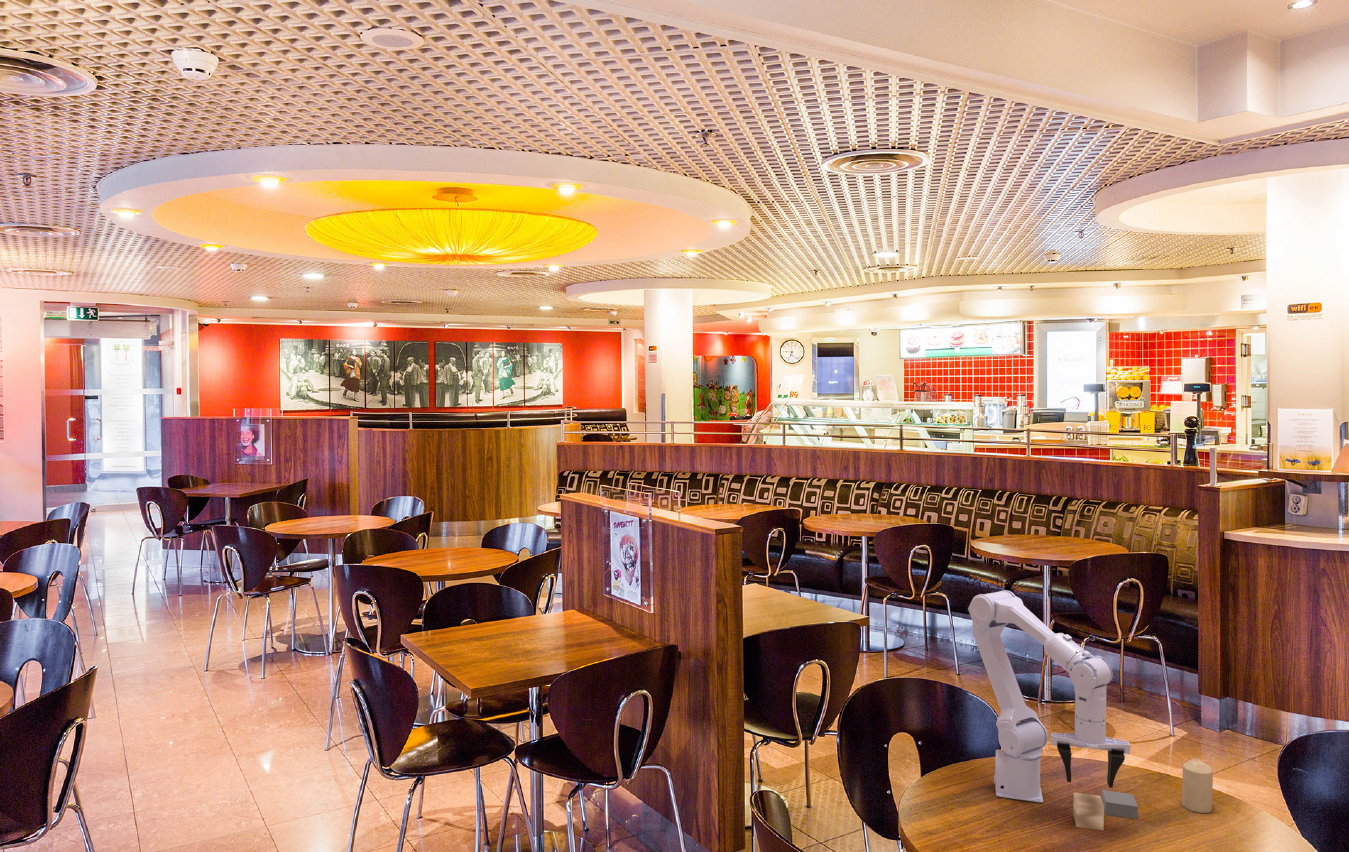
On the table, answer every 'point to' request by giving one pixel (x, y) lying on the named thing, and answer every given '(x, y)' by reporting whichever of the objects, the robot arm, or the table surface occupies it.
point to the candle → (1197, 786)
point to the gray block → (1119, 804)
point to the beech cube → (1088, 811)
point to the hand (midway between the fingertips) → (1089, 782)
